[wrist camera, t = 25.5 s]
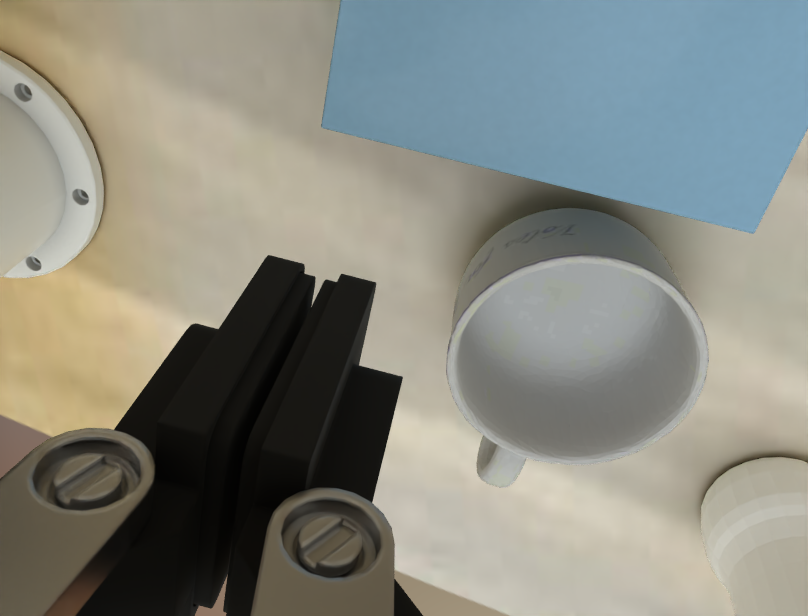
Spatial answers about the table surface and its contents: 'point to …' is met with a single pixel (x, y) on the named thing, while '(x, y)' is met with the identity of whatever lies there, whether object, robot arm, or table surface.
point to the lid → (586, 93)
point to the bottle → (760, 536)
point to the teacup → (571, 344)
